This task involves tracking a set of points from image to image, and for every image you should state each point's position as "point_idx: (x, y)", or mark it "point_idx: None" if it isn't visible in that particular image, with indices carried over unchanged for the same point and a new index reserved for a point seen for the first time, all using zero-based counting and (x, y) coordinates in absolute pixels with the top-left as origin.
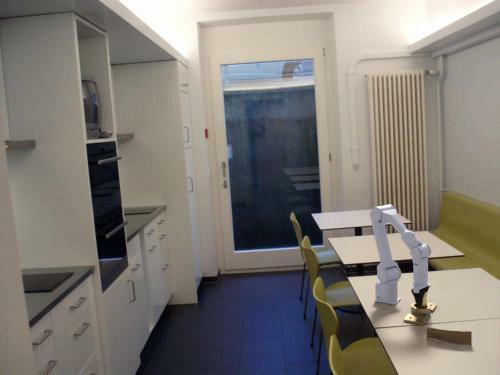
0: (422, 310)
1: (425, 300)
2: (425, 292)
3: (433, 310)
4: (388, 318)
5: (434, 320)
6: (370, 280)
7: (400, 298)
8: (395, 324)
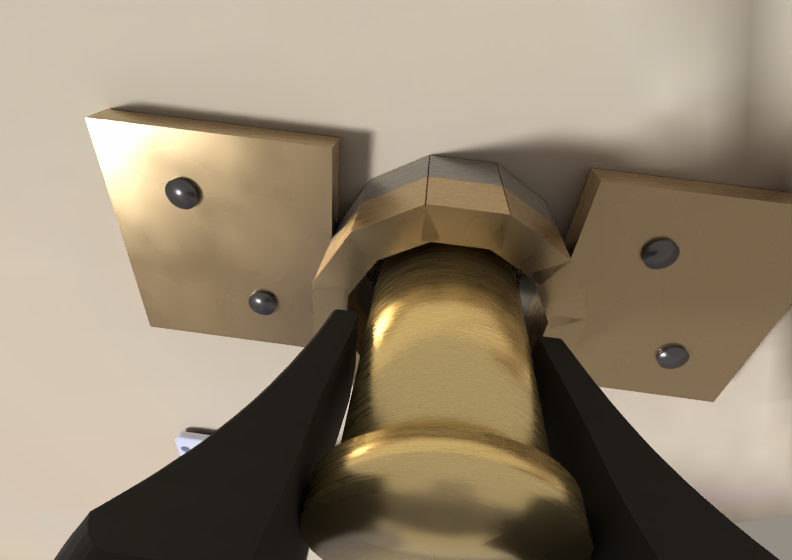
0: (579, 290)
1: (503, 355)
2: (421, 498)
3: (295, 134)
4: None
5: (640, 76)
6: (11, 555)
7: (183, 437)
8: (772, 426)
